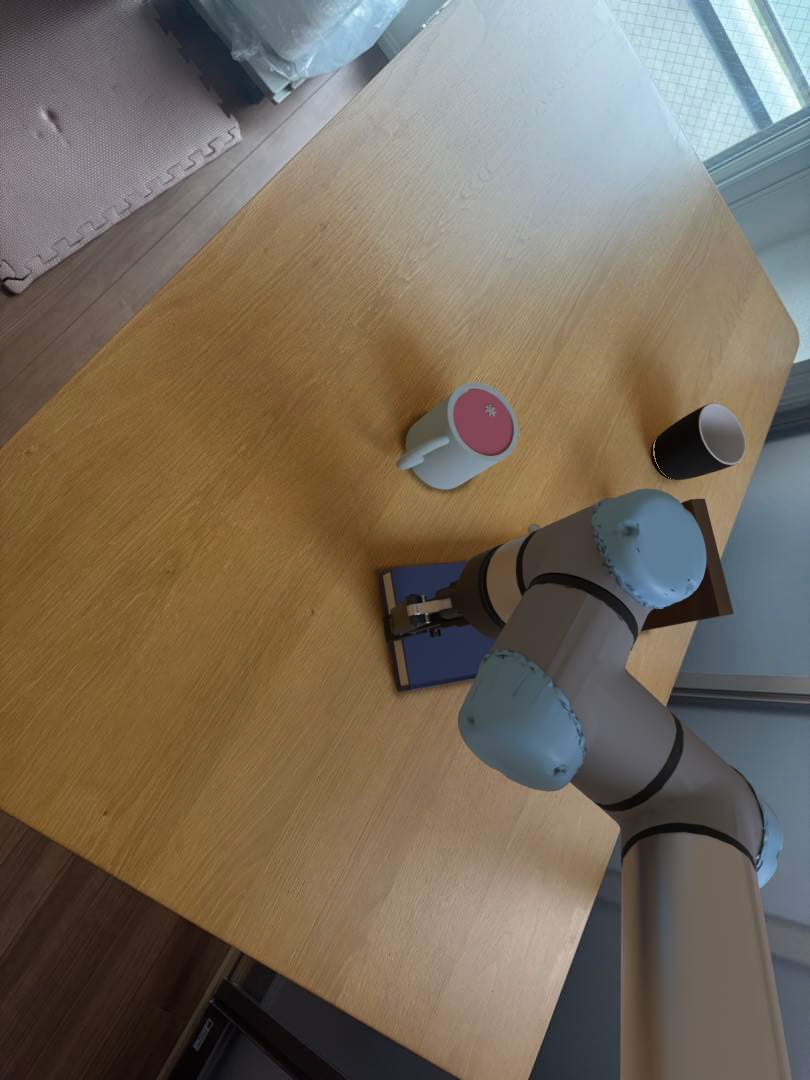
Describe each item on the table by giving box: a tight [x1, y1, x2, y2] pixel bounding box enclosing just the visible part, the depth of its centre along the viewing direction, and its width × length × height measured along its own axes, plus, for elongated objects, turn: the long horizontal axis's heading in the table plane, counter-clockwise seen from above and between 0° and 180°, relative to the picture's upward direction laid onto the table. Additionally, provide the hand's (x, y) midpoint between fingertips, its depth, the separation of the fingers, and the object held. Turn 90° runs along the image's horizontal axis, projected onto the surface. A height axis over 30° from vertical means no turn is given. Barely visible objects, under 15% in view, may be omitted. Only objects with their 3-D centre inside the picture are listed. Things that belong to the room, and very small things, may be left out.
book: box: [379, 561, 496, 693], centre depth 84 cm, size 24×13×3 cm, turn 99°
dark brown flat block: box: [640, 498, 735, 632], centre depth 91 cm, size 2×14×14 cm, turn 9°
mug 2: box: [650, 402, 747, 481], centre depth 103 cm, size 12×9×10 cm
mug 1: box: [395, 381, 519, 490], centre depth 83 cm, size 14×9×10 cm
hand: (390, 628), depth 77 cm, fingers closed
